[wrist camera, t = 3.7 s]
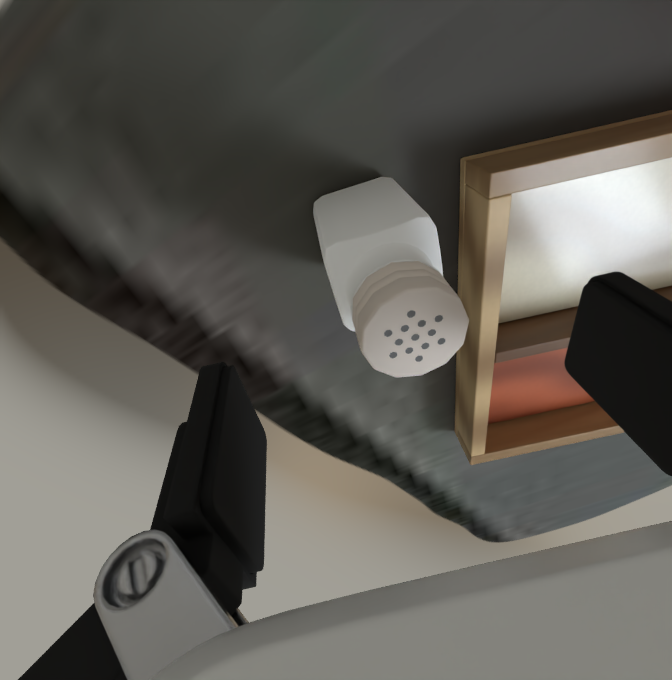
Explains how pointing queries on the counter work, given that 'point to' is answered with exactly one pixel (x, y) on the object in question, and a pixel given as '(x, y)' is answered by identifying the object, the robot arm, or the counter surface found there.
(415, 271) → the salt shaker
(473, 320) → the tray
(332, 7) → the counter surface
